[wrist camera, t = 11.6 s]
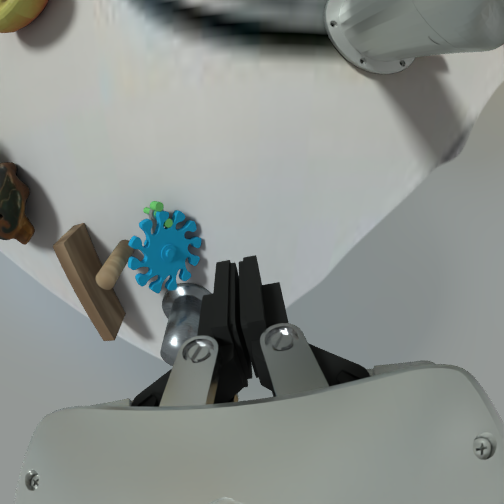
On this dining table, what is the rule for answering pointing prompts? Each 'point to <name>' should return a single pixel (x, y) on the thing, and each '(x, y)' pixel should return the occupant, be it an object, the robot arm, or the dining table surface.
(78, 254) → the brown wooden plank
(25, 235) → the decorative turtle
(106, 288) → the dowel pin
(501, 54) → the dining table surface
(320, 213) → the dining table surface
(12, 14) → the apple
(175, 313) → the post
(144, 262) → the gear
